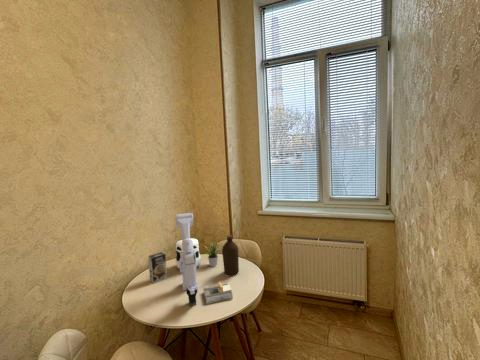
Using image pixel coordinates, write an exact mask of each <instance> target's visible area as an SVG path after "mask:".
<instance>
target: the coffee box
mask: <svg viewBox="0 0 480 360" xmlns="http://www.w3.org/2000/svg"><path fill="white" fill-rule="evenodd" d="M147 257H148V271H149V281H150V282H151V283H153V284H155V283H158V282H160V281H163V280H166V279H168V275H167V273H168V272H167V271H168V270H167V260H166V259H167V258H166V253H164V252H157V253H154V254H150V255H148V256H147Z"/></svg>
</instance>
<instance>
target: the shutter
mask: <svg viewBox="0 0 480 360" xmlns="http://www.w3.org/2000/svg"><path fill="white" fill-rule="evenodd" d="M222 284H223V283H222V282H221V281H218V285H219V289H220V292H221V293H222V292H227V291H231V292H233V289H232V288H231V285H230V284H228V285H224V286H222Z"/></svg>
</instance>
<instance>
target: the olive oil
mask: <svg viewBox="0 0 480 360" xmlns="http://www.w3.org/2000/svg"><path fill="white" fill-rule="evenodd" d="M221 252H222V262H223V263H222V264H223V272H224V275H225V274H226V275H225V276H228V275H229V277H231V276H232V275H234V276H236V274H237V273H238V272H240V271H239V270H240V268H239V264H240V263H239V247H238V245H237V244H236V243H235V242H234V241H233V236H232V234H227V235H226V242H225V243H224V244H223V246H222V249H221ZM238 274H239V273H238ZM238 274H237V275H238ZM232 277H233V276H232Z"/></svg>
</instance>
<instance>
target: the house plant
mask: <svg viewBox="0 0 480 360" xmlns="http://www.w3.org/2000/svg"><path fill="white" fill-rule="evenodd" d="M218 243H219V242H218V241H217V242H216V243H215V245H214V244H213V242H209V246H210V247H209V248H208V247H207V246H205V245H204V247H205V249H206V250H205V251H206V252H204V254H206V255H208V256H207V259H208V263H209V266H210V267H217V266H218V260H219V255H218V254H219V252H221V249H220V248H221V247H222V248H223V246H221V245H222V243H220V244H218ZM216 265H217V266H216Z"/></svg>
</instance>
